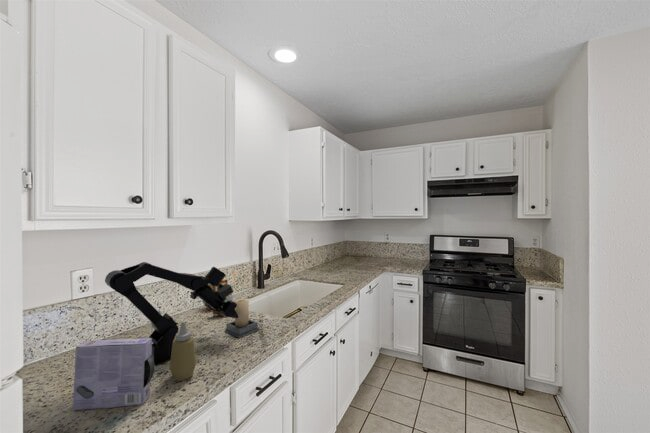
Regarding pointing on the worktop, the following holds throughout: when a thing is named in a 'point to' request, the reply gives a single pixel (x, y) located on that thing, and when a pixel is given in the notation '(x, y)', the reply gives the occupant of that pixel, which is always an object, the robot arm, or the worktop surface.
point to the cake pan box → (112, 373)
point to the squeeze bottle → (183, 355)
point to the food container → (229, 298)
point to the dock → (241, 329)
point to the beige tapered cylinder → (242, 313)
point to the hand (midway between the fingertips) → (232, 314)
